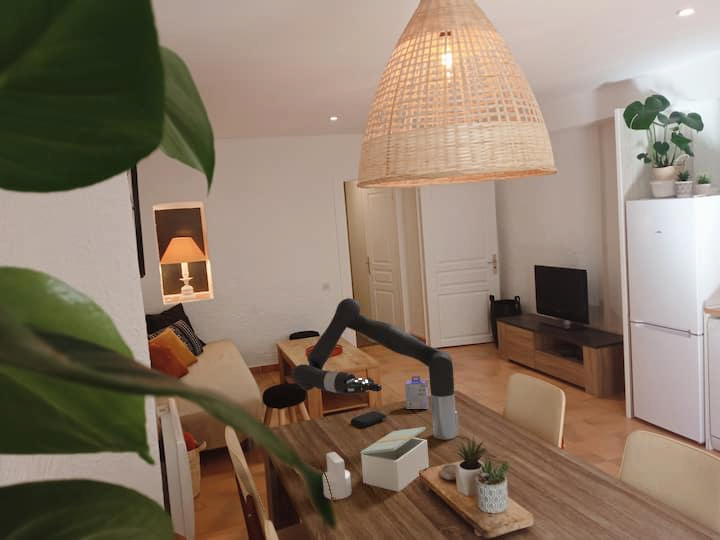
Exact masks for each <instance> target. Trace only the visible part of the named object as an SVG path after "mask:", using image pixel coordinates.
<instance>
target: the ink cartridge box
mask: <svg viewBox="0 0 720 540" xmlns="http://www.w3.org/2000/svg"><path fill="white" fill-rule="evenodd" d="M428 390H429V389H428V381H427V380H421V376H420V375H417V376H416V375H414V376H412V377H411V380H407V381H406V382H405V383H404V392H405V406H406V409H427V410H428V409H429V407H430V406H429V405H430V403H429V391H428ZM406 409H405V410H406Z"/></svg>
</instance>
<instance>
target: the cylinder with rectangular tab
mask: <svg viewBox="0 0 720 540" xmlns="http://www.w3.org/2000/svg"><path fill="white" fill-rule="evenodd" d="M325 456H326V457H325V458H326V469H327V471H325V472H324V473H325V474H326V476H327V479H328V482H329V485H330V489H331V493H332V497H334V499H333V500H341V499H346V498H348V497H349V496H350V495H351V494H352V481H351V479H352V478H351V472H350V471H349V470H347V469H345V467H346V466H345V460H344V458H342V457H341V456H340V455H338V454H337V453H336V452H335V451H332V452H327V453H326V455H325ZM324 473H323V474H322V484H323V486H322V487H323V495H324V497H325V498H326V499H329V500H332V499H331V494H330V491H329V486H328V483H327V480H326V477H325V475H324ZM335 498H336V499H335Z"/></svg>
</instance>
